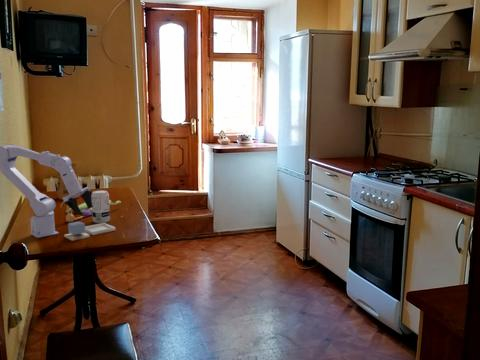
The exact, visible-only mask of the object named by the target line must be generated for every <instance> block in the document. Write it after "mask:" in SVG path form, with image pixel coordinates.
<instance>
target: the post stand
mask: <svg viewBox="0 0 480 360" xmlns="http://www.w3.org/2000/svg"><path fill="white" fill-rule="evenodd" d="M63 237H64V238H65V239H68V240H70V241H71V242H72V241H78V240H82V239H87V238H91V234H89V233H87V232H85V233H80V234H76V235H73V234H71V233H65V234H64V235H63Z"/></svg>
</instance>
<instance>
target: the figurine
mask: <svg viewBox="0 0 480 360" xmlns="http://www.w3.org/2000/svg"><path fill="white" fill-rule="evenodd" d="M65 202H66V201H65ZM65 202H64V200H63V201H62V203H61V205H60V208H62V206H63V204H64V203H65ZM77 204H78V202H77ZM78 207H79V204H78ZM69 208H70V207H69V206H68V205H66V210H67V211H68V212H67V214H66V216H65V220H66V221H67V222H68V223H73V222H74V220H75V214H73V210H72V209H71V210H70V211H69V210H68V209H69Z"/></svg>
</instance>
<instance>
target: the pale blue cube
mask: <svg viewBox="0 0 480 360" xmlns="http://www.w3.org/2000/svg"><path fill="white" fill-rule="evenodd" d="M85 226H86V225H85V223H84V222H82V221H75V222H74V221H73V222H68V223H67V227H68V234H70V233H71V234H73V235H76V234H80V233H86V232H85Z"/></svg>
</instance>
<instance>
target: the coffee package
mask: <svg viewBox="0 0 480 360" xmlns="http://www.w3.org/2000/svg"><path fill="white" fill-rule="evenodd" d="M71 167H72V169H73V171H74V173H75V175H76V177H77V179H78V180H79V174H78V163H77V161H73V162H72V165H71ZM57 172H58V171H57ZM56 186H57V187H56V189H57V190H56V191H57V196H58V199H59V200H63V197H65V196H68V195H70V194H69V192H68V190H67V188H66V186H65V184H64V182H63V180H62V177H61V175H60V173H59V172H58V173H57V185H56ZM78 194H80V193H77V194H75V196H76V195H78ZM73 197H74V196H73ZM75 198H80V195H79V196H76V197H74V199H75ZM63 201H64V200H63Z"/></svg>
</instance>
